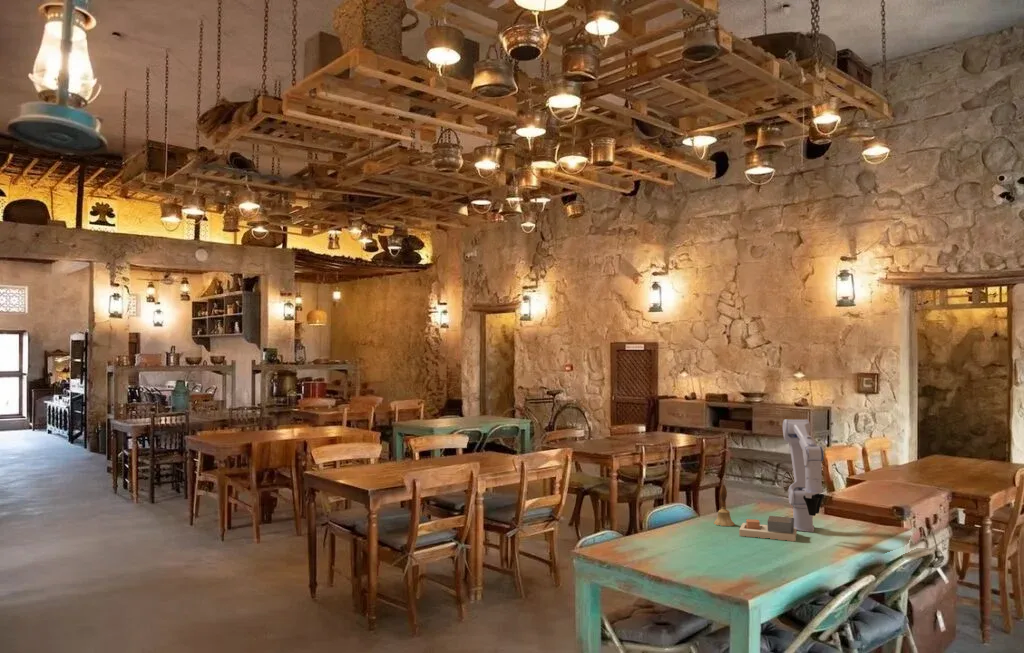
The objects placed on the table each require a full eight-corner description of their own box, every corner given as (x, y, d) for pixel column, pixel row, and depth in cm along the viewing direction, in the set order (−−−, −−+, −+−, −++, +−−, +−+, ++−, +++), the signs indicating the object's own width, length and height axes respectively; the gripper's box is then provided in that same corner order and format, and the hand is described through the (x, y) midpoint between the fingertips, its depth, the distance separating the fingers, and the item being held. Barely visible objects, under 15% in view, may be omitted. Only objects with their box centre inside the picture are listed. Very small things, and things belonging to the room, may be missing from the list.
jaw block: (746, 531, 286) (746, 519, 286) (758, 532, 285) (758, 519, 285) (747, 534, 281) (747, 521, 282) (759, 535, 280) (759, 522, 281)
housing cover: (769, 525, 285) (769, 515, 285) (794, 527, 281) (794, 517, 281) (767, 530, 276) (767, 520, 276) (793, 533, 273) (792, 523, 273)
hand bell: (709, 523, 300) (708, 484, 301) (725, 520, 304) (724, 482, 304) (723, 527, 293) (722, 487, 293) (739, 525, 296) (738, 486, 296)
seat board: (742, 528, 290) (742, 522, 290) (796, 533, 282) (796, 527, 282) (739, 535, 279) (739, 529, 279) (795, 541, 271) (794, 534, 271)
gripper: (807, 474, 283) (808, 509, 282) (796, 479, 271) (797, 516, 271) (826, 476, 279) (827, 511, 278) (816, 481, 267) (817, 519, 267)
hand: (813, 514), depth 274 cm, fingers open, 4 cm apart
